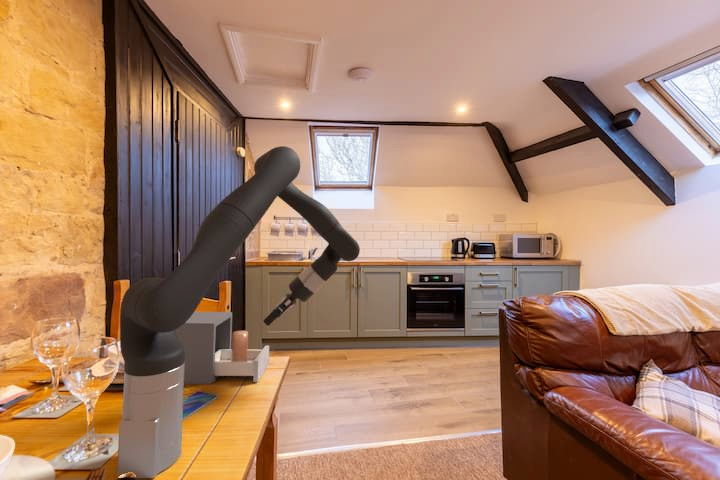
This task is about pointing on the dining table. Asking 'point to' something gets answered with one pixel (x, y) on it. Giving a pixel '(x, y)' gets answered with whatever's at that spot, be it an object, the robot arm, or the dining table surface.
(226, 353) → the drawer
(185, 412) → the smartphone
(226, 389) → the dining table surface
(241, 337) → the tan rounded cylinder
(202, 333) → the cabinet
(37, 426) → the dining table surface
